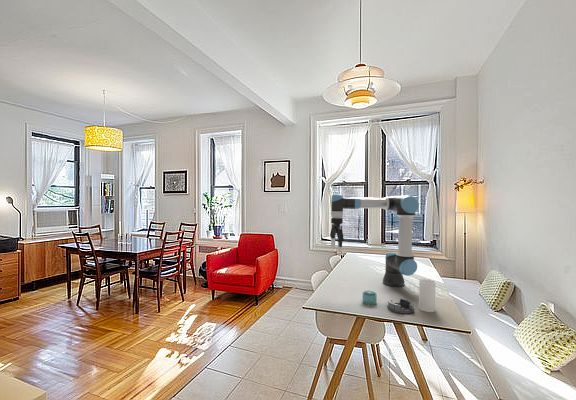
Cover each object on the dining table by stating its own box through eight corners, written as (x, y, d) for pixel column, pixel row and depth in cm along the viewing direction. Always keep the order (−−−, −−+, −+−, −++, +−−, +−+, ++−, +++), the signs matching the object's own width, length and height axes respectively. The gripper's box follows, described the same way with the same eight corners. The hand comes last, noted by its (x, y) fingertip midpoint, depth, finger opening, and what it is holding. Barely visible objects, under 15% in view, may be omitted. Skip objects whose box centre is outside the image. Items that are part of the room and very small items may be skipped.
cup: (416, 306, 166) (416, 279, 166) (429, 306, 167) (430, 279, 167) (423, 312, 158) (424, 283, 158) (438, 312, 159) (438, 283, 158)
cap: (372, 299, 176) (372, 290, 176) (378, 304, 168) (379, 294, 168) (360, 300, 175) (360, 290, 175) (366, 305, 167) (366, 295, 167)
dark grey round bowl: (404, 304, 170) (405, 297, 170) (419, 313, 156) (419, 306, 156) (382, 305, 168) (383, 298, 167) (395, 314, 154) (395, 307, 154)
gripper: (325, 216, 201) (325, 246, 201) (337, 219, 176) (337, 253, 176) (336, 216, 202) (335, 246, 202) (349, 219, 177) (348, 253, 178)
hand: (336, 249), depth 189 cm, fingers open, 13 cm apart
